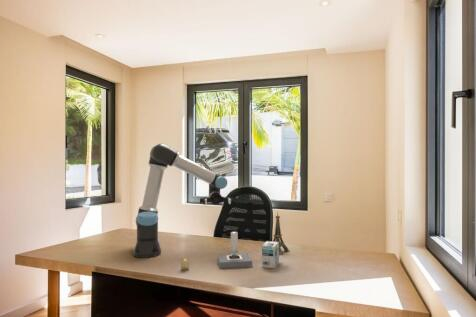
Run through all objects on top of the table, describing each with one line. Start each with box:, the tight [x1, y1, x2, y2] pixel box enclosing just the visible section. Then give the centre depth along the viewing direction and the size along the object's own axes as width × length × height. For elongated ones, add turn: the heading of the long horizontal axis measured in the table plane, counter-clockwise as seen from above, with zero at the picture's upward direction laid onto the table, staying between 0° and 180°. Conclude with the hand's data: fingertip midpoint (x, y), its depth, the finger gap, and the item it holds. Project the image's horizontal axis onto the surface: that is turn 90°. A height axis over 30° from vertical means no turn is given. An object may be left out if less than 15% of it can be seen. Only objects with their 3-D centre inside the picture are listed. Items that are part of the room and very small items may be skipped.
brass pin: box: [180, 258, 190, 272], centre depth 154 cm, size 4×4×5 cm
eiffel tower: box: [272, 211, 290, 256], centre depth 185 cm, size 11×11×25 cm
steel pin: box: [230, 231, 239, 259], centre depth 163 cm, size 4×4×16 cm
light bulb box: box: [261, 240, 280, 269], centre depth 161 cm, size 11×7×11 cm, turn 161°
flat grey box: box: [217, 252, 253, 270], centre depth 163 cm, size 16×14×3 cm
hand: (218, 201), depth 178 cm, fingers open, 13 cm apart
